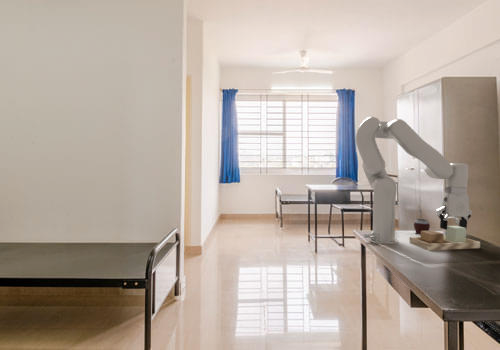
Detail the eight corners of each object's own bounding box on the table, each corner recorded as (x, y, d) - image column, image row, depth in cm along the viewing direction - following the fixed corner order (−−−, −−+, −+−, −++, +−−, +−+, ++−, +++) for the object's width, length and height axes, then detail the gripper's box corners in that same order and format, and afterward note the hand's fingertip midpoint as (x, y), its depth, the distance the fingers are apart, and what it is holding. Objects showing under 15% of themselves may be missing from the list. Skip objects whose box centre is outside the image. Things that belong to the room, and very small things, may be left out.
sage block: (455, 246, 122) (455, 228, 121) (445, 243, 127) (446, 225, 126) (465, 246, 122) (466, 228, 122) (455, 242, 127) (456, 225, 127)
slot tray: (428, 252, 116) (429, 244, 116) (409, 244, 128) (409, 237, 128) (480, 250, 120) (480, 242, 120) (456, 242, 131) (456, 235, 131)
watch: (463, 241, 134) (464, 218, 133) (443, 239, 137) (444, 217, 137) (460, 238, 139) (461, 216, 138) (441, 236, 142) (442, 215, 142)
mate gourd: (424, 237, 141) (425, 208, 141) (409, 234, 148) (409, 206, 148) (432, 235, 145) (433, 207, 144) (417, 232, 152) (418, 205, 151)
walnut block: (430, 247, 119) (431, 234, 119) (420, 244, 125) (420, 230, 125) (443, 247, 120) (443, 233, 120) (432, 243, 126) (432, 230, 126)
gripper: (445, 191, 119) (442, 230, 120) (481, 192, 121) (477, 231, 122) (431, 189, 126) (429, 226, 127) (465, 190, 129) (462, 227, 129)
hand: (453, 228), depth 125 cm, fingers open, 9 cm apart
